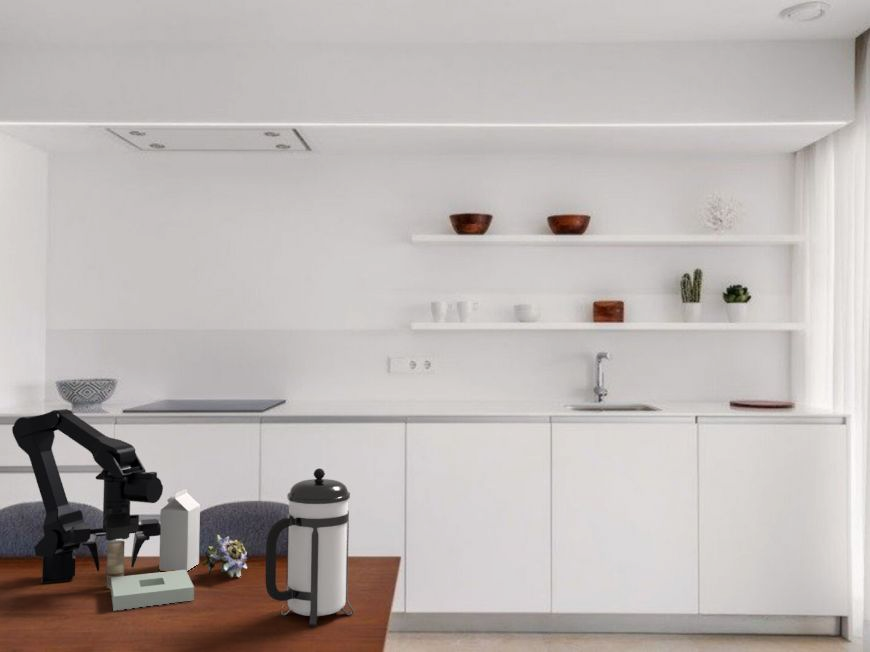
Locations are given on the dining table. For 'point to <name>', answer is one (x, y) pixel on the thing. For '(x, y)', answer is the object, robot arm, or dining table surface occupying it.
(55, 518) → the robot arm
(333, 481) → the coffee press
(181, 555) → the milk carton
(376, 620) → the dining table surface
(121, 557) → the peg
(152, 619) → the dining table surface
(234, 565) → the passion flower
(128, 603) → the board
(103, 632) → the dining table surface
